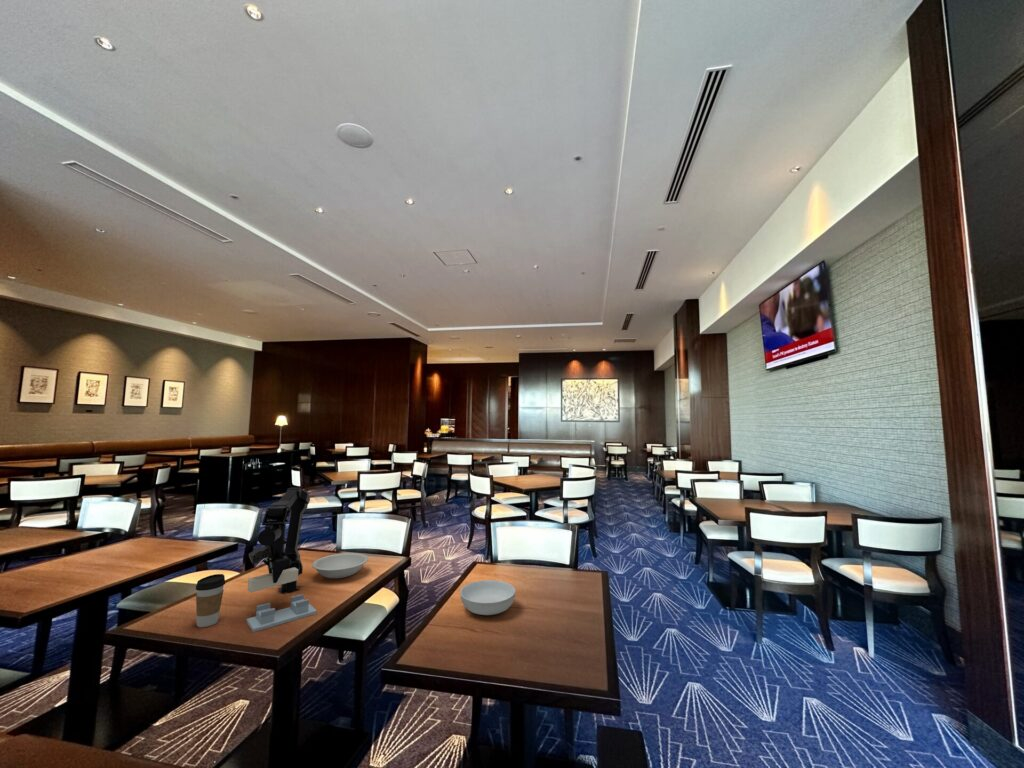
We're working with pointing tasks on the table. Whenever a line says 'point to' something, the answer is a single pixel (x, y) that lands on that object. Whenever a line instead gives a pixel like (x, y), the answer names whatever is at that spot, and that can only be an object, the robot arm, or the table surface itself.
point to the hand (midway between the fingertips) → (273, 581)
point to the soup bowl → (340, 564)
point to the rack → (280, 614)
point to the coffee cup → (209, 599)
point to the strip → (267, 580)
